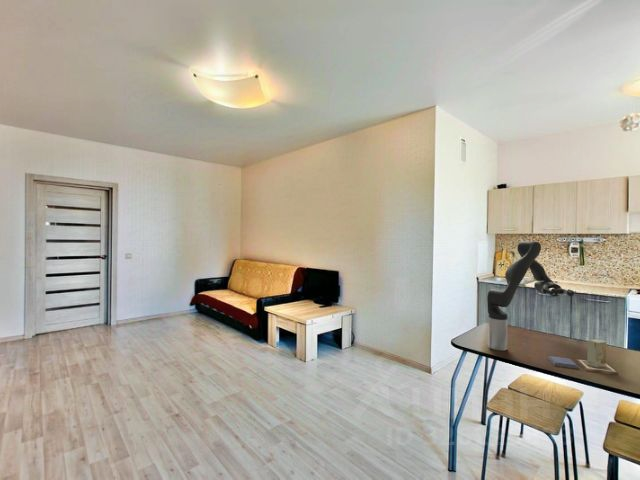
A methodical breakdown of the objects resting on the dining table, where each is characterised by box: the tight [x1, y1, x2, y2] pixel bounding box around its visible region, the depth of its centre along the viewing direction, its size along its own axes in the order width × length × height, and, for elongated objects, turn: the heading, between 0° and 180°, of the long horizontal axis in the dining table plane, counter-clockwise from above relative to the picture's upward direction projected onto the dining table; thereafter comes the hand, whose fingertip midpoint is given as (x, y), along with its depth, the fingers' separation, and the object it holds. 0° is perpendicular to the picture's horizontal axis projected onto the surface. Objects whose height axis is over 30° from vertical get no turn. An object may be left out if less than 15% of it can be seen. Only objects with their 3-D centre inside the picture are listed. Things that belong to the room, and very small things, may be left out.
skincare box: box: [586, 339, 607, 368], centre depth 151 cm, size 6×4×12 cm
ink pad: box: [547, 355, 580, 370], centre depth 156 cm, size 10×10×2 cm
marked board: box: [575, 358, 619, 376], centre depth 151 cm, size 12×12×1 cm
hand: (561, 293), depth 172 cm, fingers open, 8 cm apart
